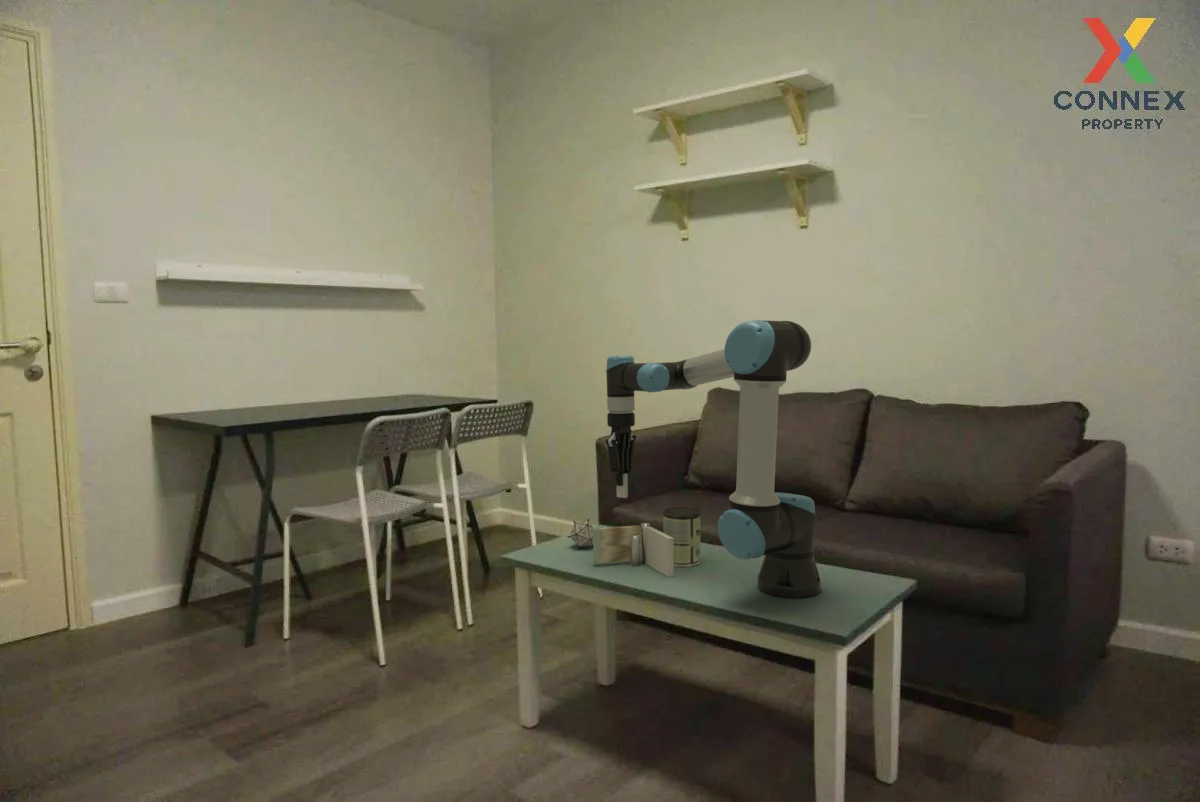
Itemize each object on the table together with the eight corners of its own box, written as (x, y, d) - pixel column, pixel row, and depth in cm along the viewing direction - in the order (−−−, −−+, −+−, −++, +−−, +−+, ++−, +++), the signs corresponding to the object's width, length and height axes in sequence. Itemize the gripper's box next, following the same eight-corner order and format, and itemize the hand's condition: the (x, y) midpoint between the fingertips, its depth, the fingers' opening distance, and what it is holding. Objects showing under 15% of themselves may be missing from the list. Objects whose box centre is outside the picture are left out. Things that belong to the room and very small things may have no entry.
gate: (638, 557, 211) (638, 525, 210) (641, 559, 209) (640, 526, 208) (593, 561, 208) (593, 528, 207) (595, 563, 206) (595, 530, 205)
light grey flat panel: (673, 576, 198) (673, 538, 197) (668, 577, 197) (668, 538, 196) (650, 562, 209) (650, 526, 209) (645, 563, 209) (645, 527, 208)
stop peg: (641, 565, 207) (641, 536, 206) (633, 566, 206) (633, 537, 206) (637, 562, 209) (637, 534, 209) (629, 564, 208) (629, 534, 208)
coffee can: (662, 555, 216) (663, 506, 215) (700, 556, 215) (700, 507, 214) (662, 566, 206) (662, 514, 205) (701, 567, 205) (701, 515, 204)
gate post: (651, 562, 210) (651, 524, 209) (643, 563, 209) (643, 525, 208) (647, 559, 212) (647, 522, 211) (639, 560, 211) (639, 523, 210)
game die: (589, 561, 224) (599, 538, 218) (561, 550, 224) (571, 528, 218) (595, 539, 231) (605, 517, 226) (569, 529, 231) (578, 507, 225)
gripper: (621, 409, 219) (622, 491, 221) (596, 413, 208) (598, 499, 210) (644, 410, 215) (645, 494, 217) (620, 414, 204) (622, 502, 206)
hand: (622, 496), depth 213 cm, fingers closed
